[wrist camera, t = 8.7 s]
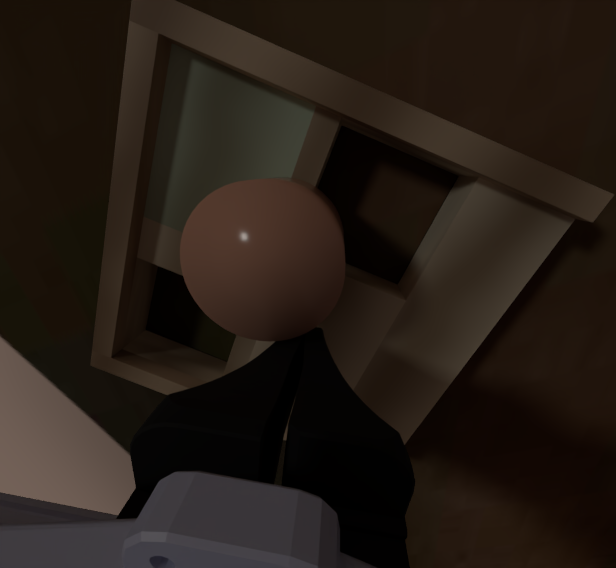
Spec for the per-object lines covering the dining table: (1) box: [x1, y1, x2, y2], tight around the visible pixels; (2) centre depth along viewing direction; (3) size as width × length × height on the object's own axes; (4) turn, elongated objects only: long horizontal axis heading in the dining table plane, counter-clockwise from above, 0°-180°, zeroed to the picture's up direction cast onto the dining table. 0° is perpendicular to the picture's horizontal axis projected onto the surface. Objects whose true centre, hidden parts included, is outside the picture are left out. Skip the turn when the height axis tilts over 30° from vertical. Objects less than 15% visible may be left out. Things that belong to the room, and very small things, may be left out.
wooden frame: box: [90, 0, 614, 445], centre depth 14 cm, size 17×16×3 cm
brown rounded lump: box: [180, 177, 345, 342], centre depth 10 cm, size 5×5×4 cm
